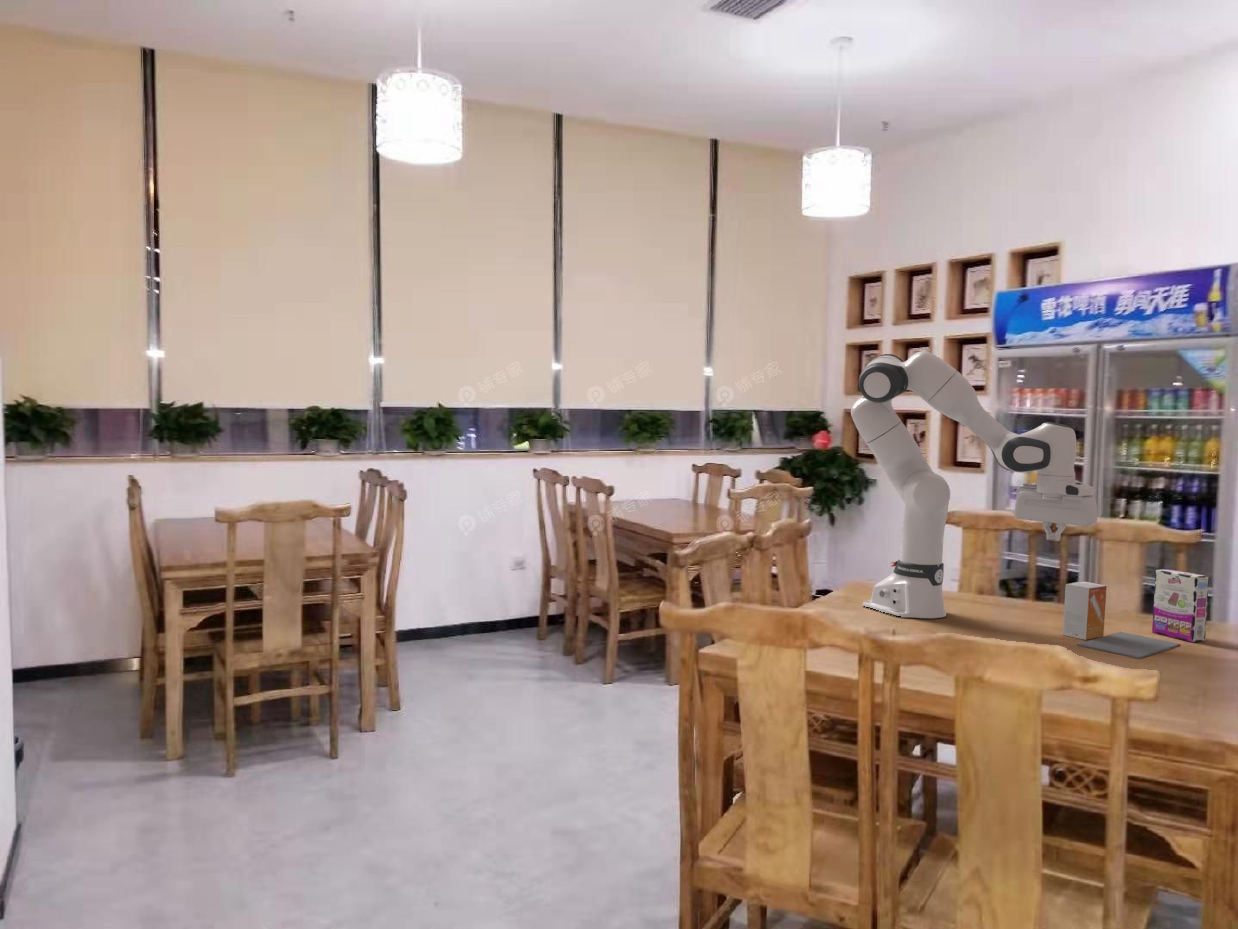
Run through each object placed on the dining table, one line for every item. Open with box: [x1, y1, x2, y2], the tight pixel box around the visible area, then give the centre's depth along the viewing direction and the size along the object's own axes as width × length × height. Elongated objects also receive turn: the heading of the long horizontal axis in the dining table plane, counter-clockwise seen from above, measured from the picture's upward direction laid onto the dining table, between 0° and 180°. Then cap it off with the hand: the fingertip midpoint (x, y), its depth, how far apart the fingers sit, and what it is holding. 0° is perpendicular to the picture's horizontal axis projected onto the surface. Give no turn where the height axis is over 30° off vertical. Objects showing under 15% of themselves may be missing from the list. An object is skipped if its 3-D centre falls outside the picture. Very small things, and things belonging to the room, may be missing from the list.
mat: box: [1077, 631, 1181, 660], centre depth 224 cm, size 14×22×1 cm, turn 127°
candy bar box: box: [1151, 568, 1210, 643], centre depth 233 cm, size 11×5×16 cm, turn 23°
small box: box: [1062, 581, 1108, 641], centre depth 232 cm, size 8×6×13 cm
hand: (1053, 540), depth 239 cm, fingers closed
